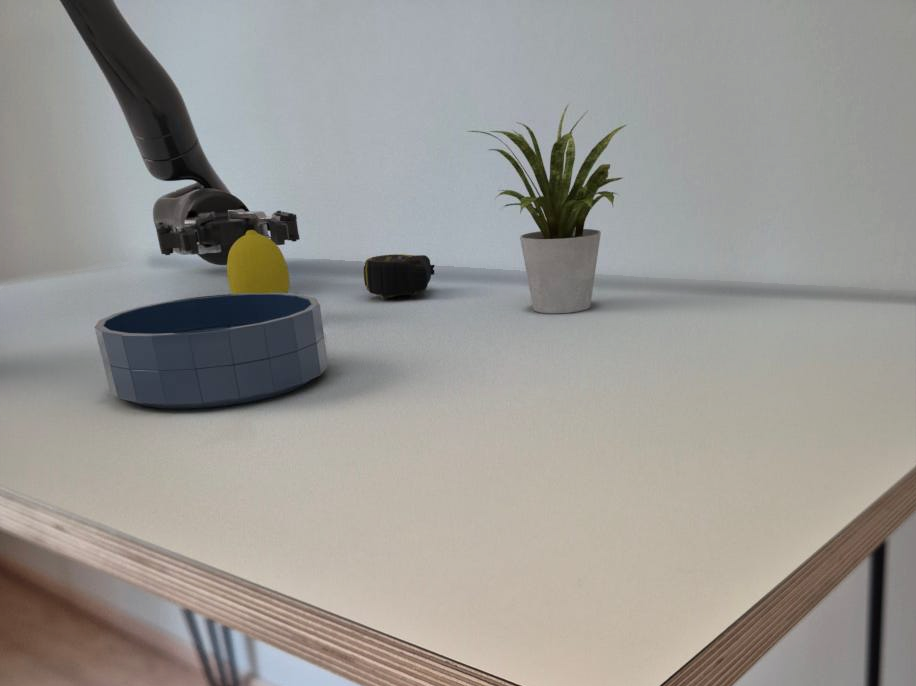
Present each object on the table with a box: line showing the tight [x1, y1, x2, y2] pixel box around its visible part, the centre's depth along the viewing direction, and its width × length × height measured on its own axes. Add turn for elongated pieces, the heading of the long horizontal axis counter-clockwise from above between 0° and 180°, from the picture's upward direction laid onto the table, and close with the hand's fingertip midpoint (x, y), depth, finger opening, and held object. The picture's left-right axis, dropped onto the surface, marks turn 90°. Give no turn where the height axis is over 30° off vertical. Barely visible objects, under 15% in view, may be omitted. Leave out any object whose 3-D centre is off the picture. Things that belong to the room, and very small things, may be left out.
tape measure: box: [363, 253, 435, 300], centre depth 98 cm, size 7×7×4 cm
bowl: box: [94, 293, 329, 410], centre depth 68 cm, size 15×15×5 cm
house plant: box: [468, 101, 629, 314], centre depth 83 cm, size 14×14×16 cm
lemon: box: [226, 230, 290, 294], centre depth 88 cm, size 6×6×8 cm
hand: (237, 238), depth 95 cm, fingers open, 8 cm apart
